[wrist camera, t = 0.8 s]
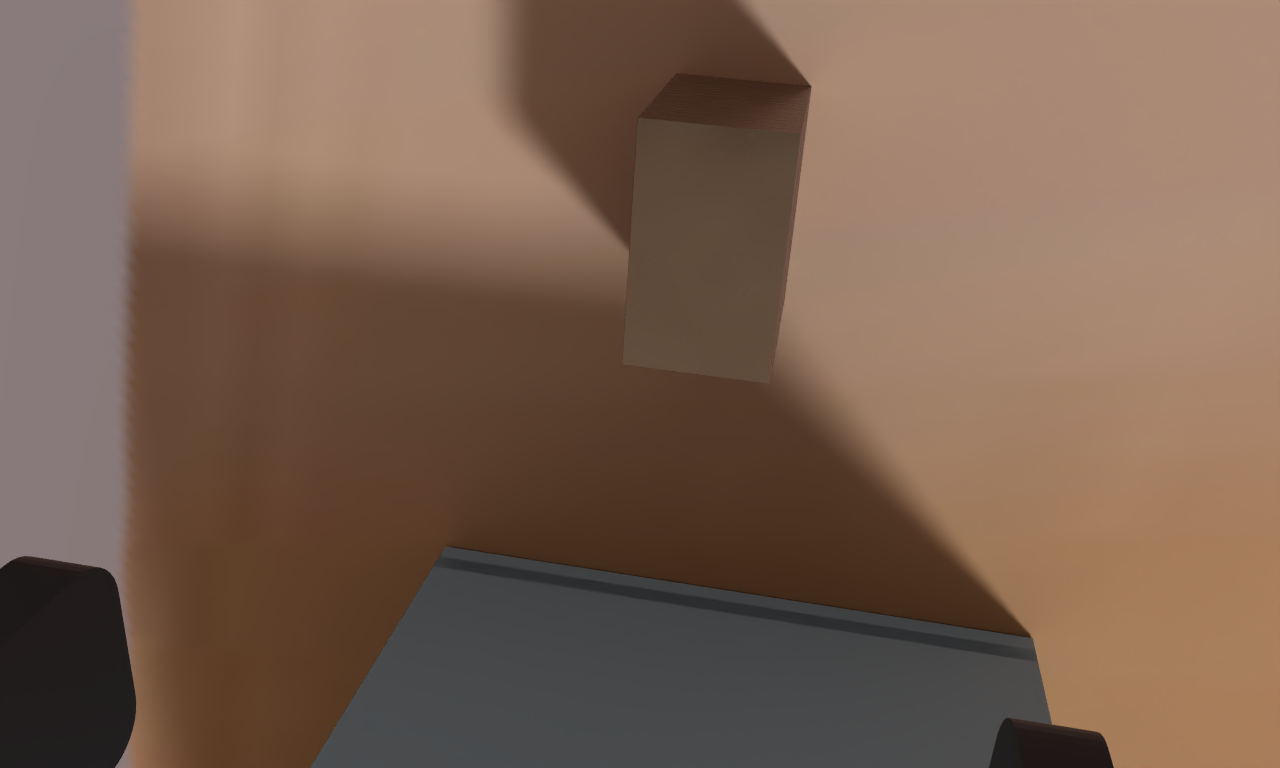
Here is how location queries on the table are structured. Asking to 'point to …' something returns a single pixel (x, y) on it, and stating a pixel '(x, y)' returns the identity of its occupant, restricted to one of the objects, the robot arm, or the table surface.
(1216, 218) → the table surface
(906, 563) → the table surface
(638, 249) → the brown rectangular block
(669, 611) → the box
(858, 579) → the table surface
